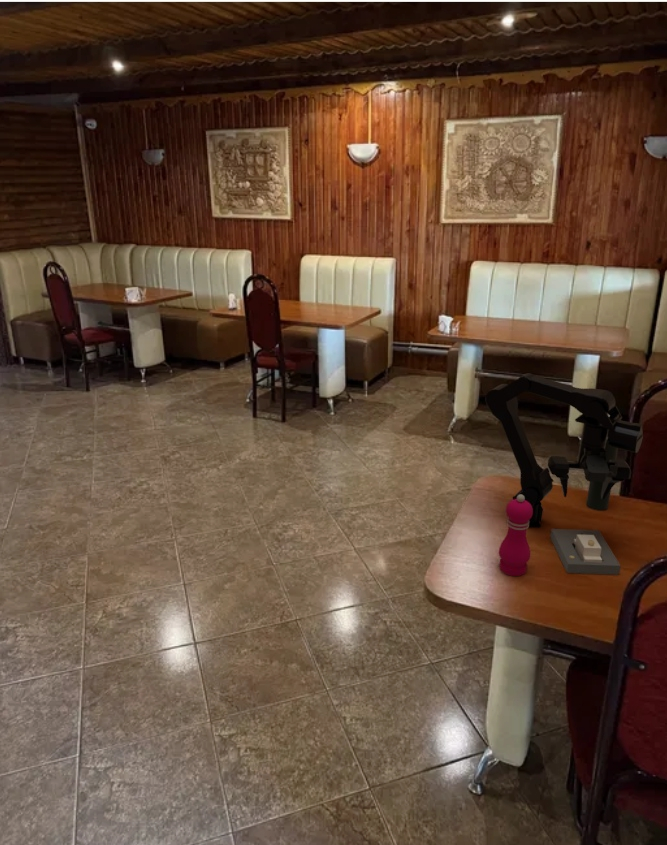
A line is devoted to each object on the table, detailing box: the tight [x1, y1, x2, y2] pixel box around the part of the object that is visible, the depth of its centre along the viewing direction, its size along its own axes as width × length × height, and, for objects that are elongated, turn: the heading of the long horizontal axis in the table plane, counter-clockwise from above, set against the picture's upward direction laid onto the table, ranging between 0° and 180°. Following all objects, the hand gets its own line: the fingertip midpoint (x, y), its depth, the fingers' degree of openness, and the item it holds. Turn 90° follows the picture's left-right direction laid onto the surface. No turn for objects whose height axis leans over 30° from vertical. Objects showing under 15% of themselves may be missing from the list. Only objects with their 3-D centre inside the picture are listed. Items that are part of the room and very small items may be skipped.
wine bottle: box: [585, 414, 619, 511], centre depth 175 cm, size 6×6×30 cm
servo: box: [574, 532, 602, 563], centre depth 153 cm, size 4×9×6 cm, turn 176°
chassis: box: [550, 528, 621, 576], centre depth 156 cm, size 12×16×3 cm
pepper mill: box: [498, 494, 533, 577], centre depth 148 cm, size 7×7×20 cm
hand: (583, 497), depth 160 cm, fingers open, 9 cm apart
